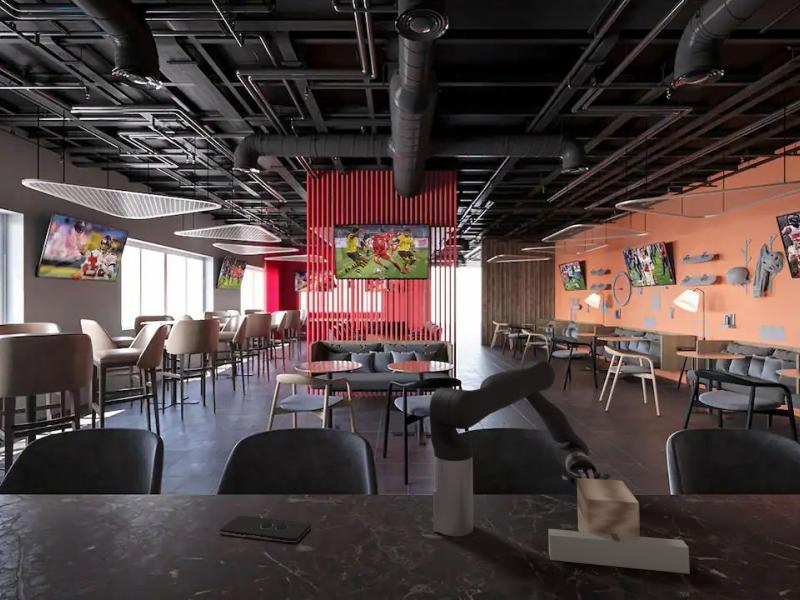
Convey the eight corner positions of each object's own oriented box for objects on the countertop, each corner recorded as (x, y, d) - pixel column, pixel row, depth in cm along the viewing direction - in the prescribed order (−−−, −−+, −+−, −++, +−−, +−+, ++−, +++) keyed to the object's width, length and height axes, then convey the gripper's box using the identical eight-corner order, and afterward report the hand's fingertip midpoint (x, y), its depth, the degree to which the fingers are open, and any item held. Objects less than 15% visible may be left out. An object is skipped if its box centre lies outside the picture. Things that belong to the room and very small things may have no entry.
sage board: (550, 559, 93) (549, 534, 93) (548, 552, 96) (548, 528, 96) (689, 573, 88) (688, 546, 88) (683, 565, 91) (682, 539, 91)
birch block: (589, 557, 94) (587, 499, 95) (578, 529, 107) (576, 477, 108) (640, 562, 92) (638, 502, 93) (623, 532, 105) (621, 480, 105)
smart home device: (296, 538, 101) (218, 529, 106) (296, 546, 101) (218, 536, 106) (311, 522, 109) (239, 514, 114) (311, 529, 109) (239, 521, 114)
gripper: (556, 453, 133) (564, 473, 116) (603, 456, 131) (619, 476, 114) (557, 479, 133) (565, 503, 116) (604, 482, 130) (620, 507, 113)
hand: (592, 490), depth 115 cm, fingers closed
